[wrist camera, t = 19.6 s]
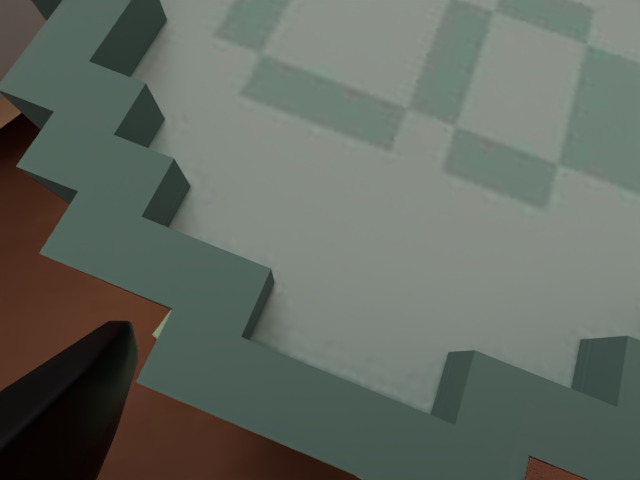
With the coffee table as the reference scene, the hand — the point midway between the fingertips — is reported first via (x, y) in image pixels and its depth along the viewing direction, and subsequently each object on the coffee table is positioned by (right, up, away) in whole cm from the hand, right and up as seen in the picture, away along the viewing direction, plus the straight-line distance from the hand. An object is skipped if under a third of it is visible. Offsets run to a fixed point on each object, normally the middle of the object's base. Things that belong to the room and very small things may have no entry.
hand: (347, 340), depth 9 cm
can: (0, -1, +9) cm, 9 cm away
